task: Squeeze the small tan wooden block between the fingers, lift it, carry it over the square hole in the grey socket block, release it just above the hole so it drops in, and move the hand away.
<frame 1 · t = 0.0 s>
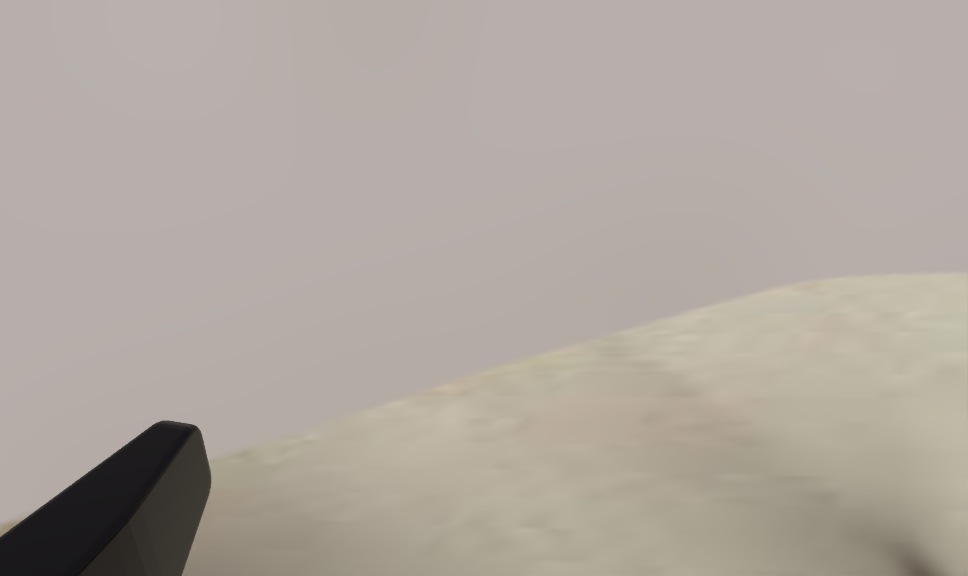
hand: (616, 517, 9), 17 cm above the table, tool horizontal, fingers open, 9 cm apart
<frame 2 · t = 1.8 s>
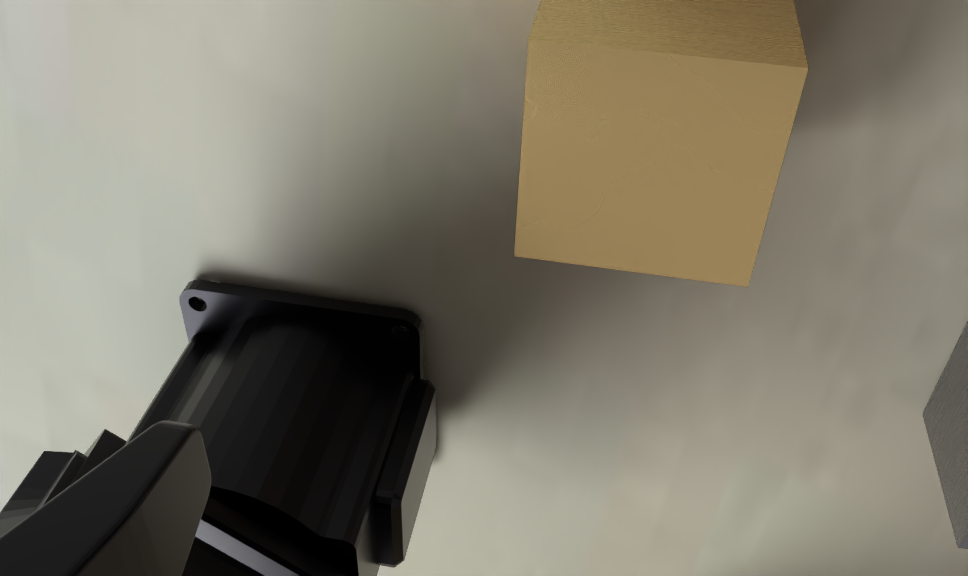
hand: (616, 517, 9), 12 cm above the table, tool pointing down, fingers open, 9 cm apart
tan wooden block: (655, 40, 18), on the table
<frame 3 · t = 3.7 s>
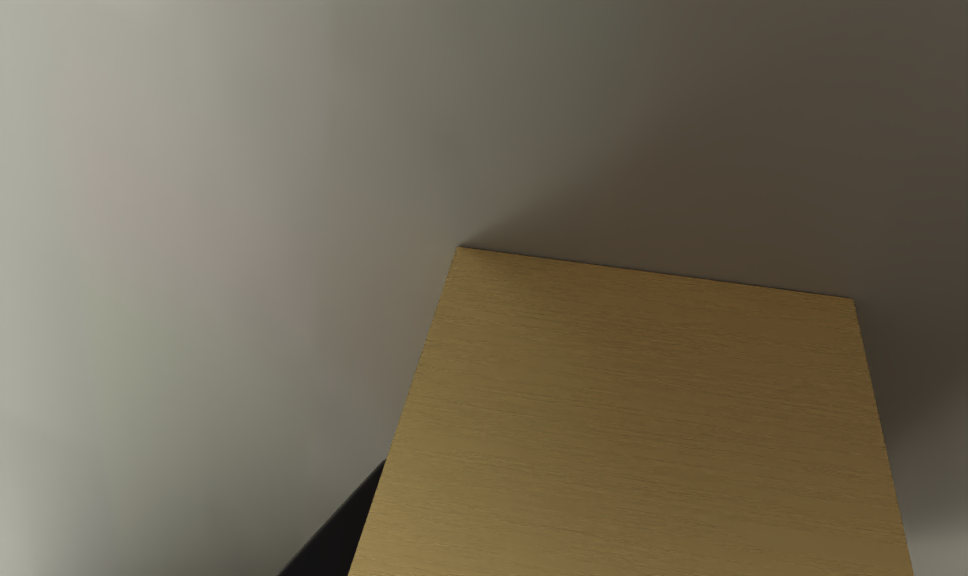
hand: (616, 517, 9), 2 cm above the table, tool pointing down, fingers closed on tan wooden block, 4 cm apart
tan wooden block: (624, 408, 11), on the table, touching gripper
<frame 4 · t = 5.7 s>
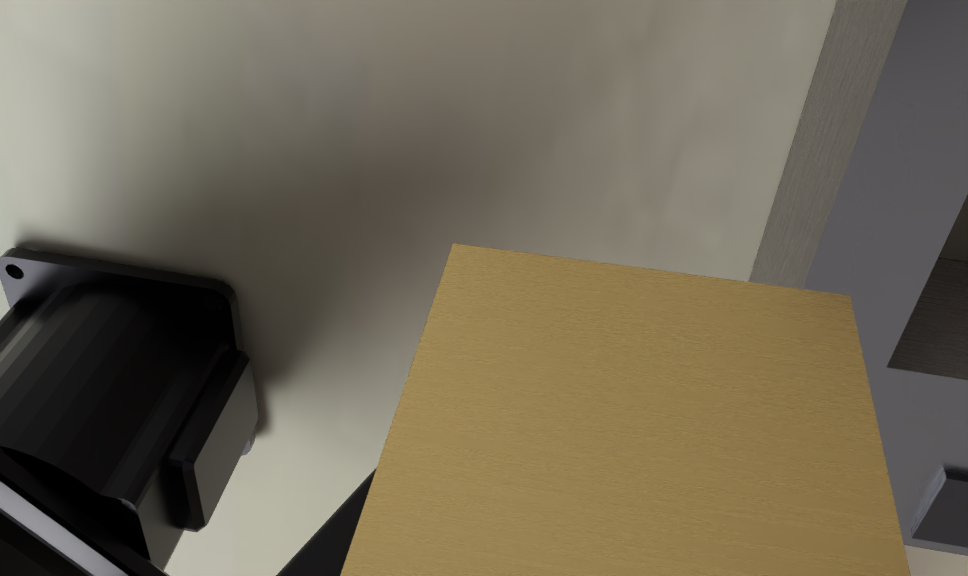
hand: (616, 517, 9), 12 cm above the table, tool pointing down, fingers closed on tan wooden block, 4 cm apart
tan wooden block: (621, 405, 11), point 10 cm above the table, touching gripper
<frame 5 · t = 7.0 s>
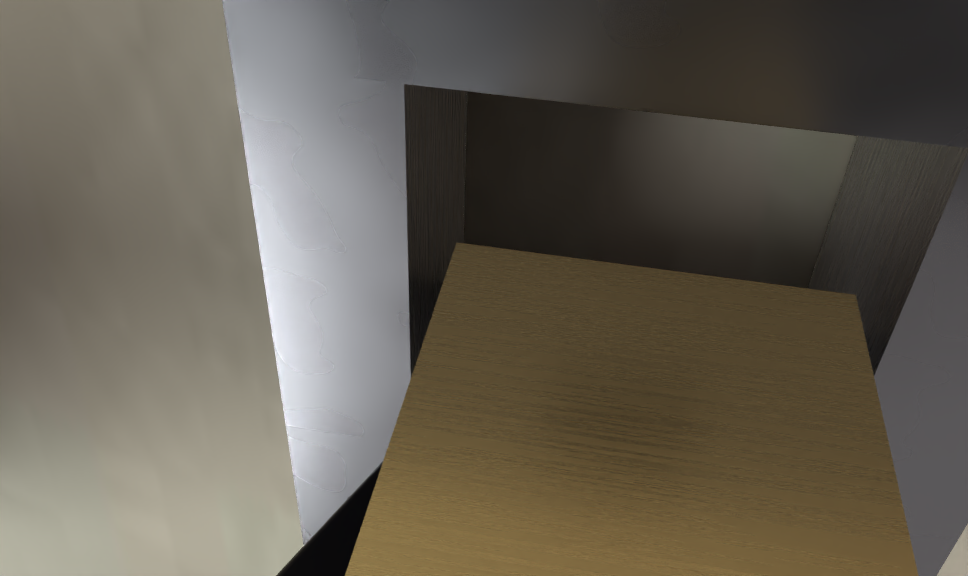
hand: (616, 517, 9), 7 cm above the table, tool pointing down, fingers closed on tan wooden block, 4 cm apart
tan wooden block: (625, 405, 11), point 6 cm above the table, touching gripper
grey socket block: (649, 164, 15), on the table
when the fingers open (6 cm above the table, at t = 7.8 s): tan wooden block drops 5 cm, resting in grey socket block.
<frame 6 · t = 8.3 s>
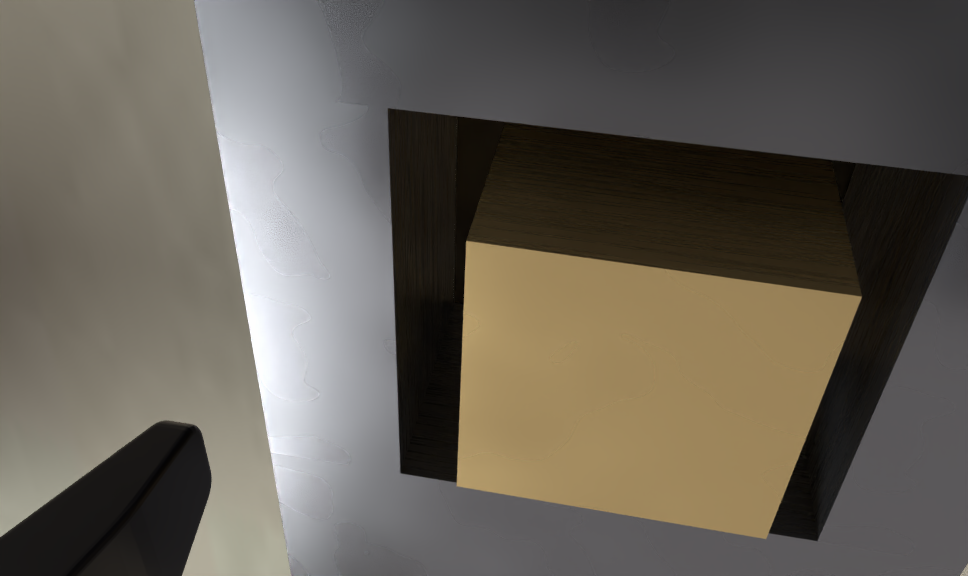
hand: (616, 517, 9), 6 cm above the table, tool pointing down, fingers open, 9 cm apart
tan wooden block: (647, 177, 14), resting in grey socket block
grey socket block: (644, 182, 14), on the table
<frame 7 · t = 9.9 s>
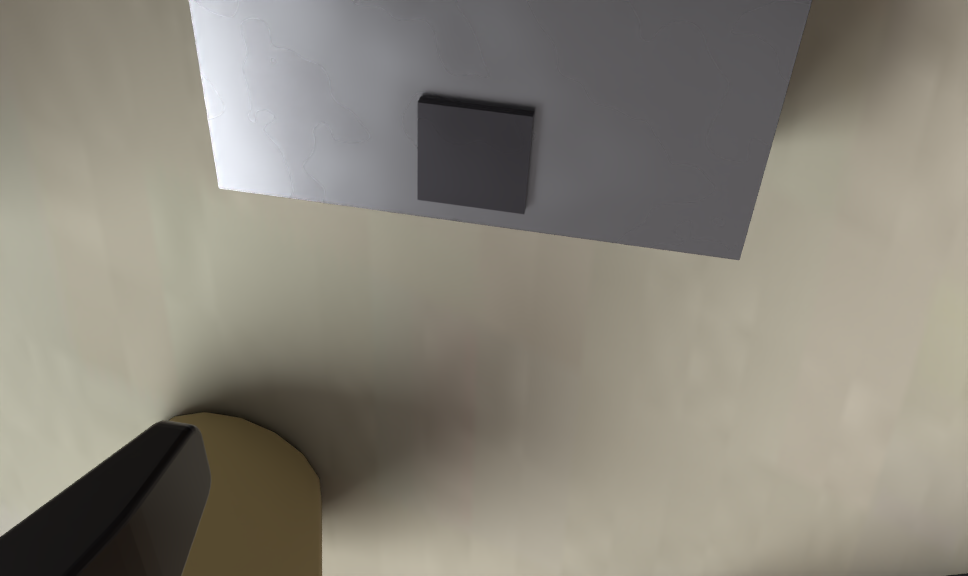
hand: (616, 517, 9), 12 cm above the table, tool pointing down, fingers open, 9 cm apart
squeeze bottle: (239, 465, 30), on the table
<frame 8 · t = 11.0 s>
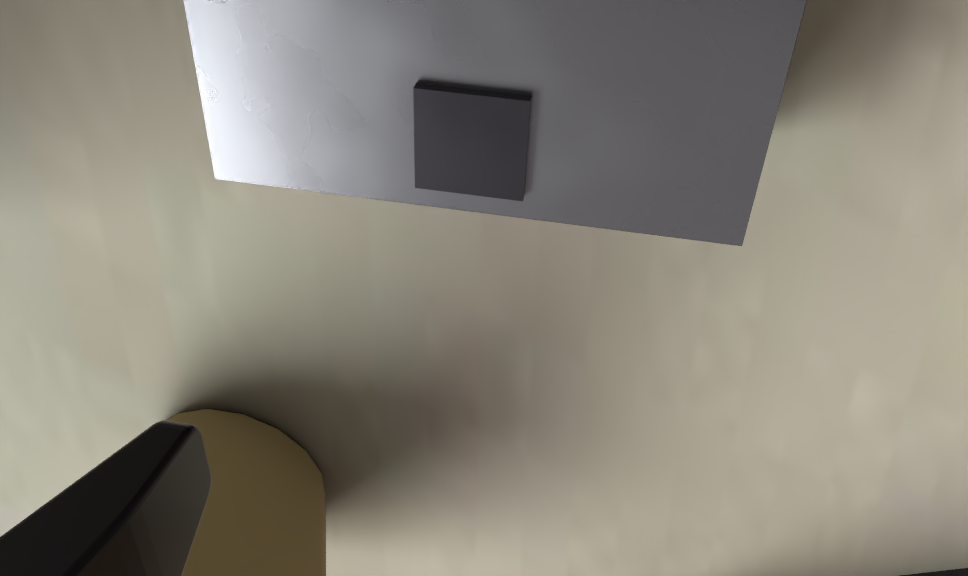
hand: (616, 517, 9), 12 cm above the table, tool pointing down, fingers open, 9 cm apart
squeeze bottle: (243, 463, 30), on the table
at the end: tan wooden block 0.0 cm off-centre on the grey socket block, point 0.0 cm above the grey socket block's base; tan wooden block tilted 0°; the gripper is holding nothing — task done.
